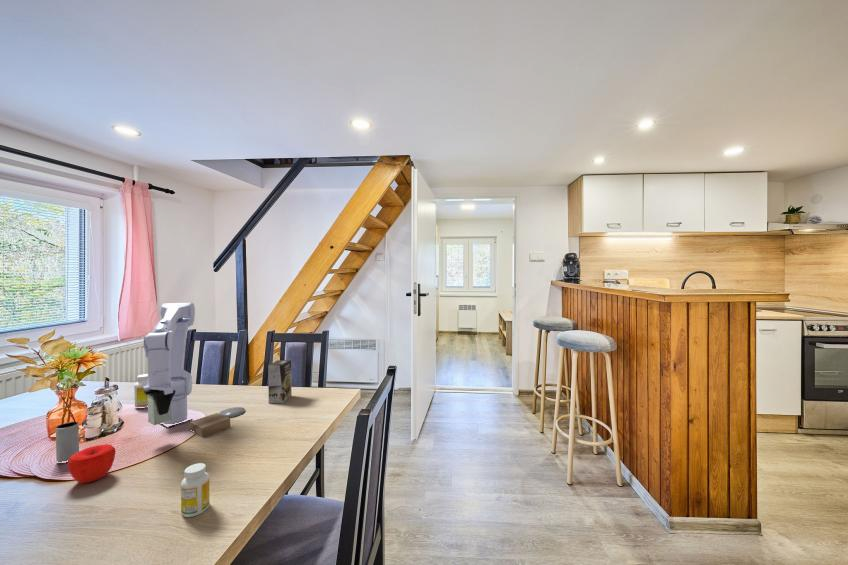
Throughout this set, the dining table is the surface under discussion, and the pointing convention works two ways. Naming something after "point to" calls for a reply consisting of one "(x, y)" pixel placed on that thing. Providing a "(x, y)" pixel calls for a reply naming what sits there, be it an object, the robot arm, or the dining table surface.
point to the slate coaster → (232, 412)
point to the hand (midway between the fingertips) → (160, 412)
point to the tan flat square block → (209, 424)
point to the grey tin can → (67, 441)
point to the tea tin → (156, 412)
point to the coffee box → (279, 381)
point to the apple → (91, 463)
